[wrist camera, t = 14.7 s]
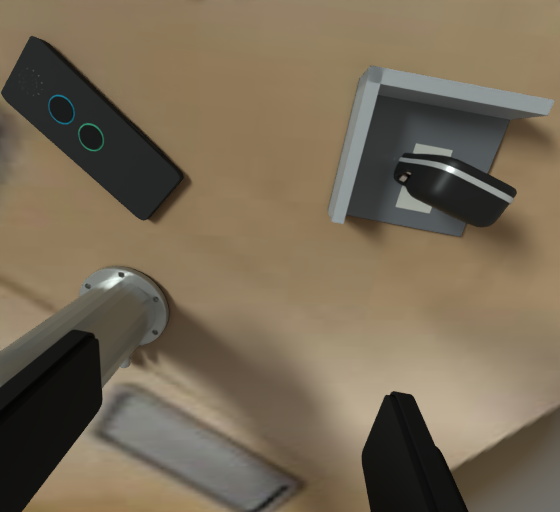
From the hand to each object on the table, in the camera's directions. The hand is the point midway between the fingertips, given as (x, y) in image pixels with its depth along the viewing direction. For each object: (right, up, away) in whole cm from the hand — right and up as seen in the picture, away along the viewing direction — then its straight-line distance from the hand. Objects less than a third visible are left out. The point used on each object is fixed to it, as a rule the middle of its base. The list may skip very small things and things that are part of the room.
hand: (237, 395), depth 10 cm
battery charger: (+17, +13, +24) cm, 32 cm away
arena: (+16, +15, +23) cm, 32 cm away
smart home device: (-20, +19, +26) cm, 37 cm away
